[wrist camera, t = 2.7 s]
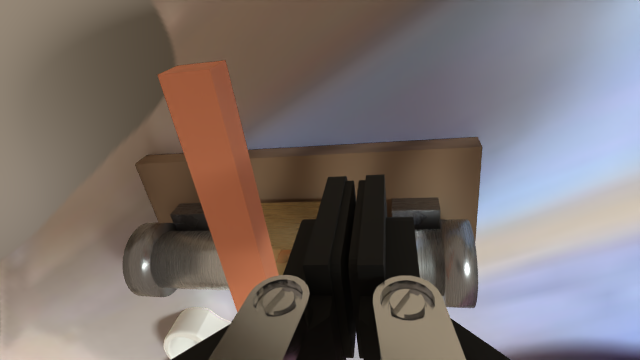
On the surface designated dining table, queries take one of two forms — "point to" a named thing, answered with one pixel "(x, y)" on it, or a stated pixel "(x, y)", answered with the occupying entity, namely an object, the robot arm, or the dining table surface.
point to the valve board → (339, 174)
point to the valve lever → (221, 171)
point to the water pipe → (283, 224)
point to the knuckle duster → (192, 330)
